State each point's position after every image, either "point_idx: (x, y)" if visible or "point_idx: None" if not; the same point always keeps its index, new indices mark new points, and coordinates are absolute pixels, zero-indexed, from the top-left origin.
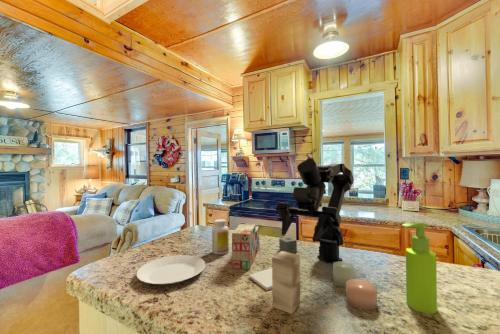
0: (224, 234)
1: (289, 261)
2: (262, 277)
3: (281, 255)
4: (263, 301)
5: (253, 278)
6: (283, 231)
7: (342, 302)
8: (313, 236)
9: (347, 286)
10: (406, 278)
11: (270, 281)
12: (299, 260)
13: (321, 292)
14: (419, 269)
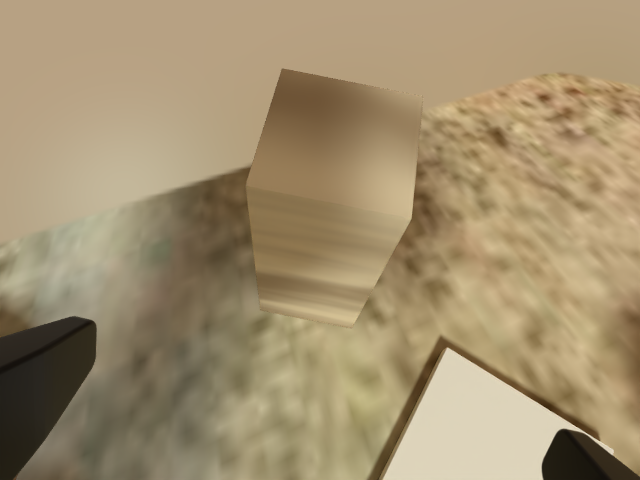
0: None
1: (291, 70)
2: (528, 453)
3: (374, 134)
4: (411, 263)
5: (566, 422)
6: (588, 455)
7: None
8: (58, 331)
9: None
10: None
11: (461, 423)
12: (249, 204)
13: (162, 462)
14: None
